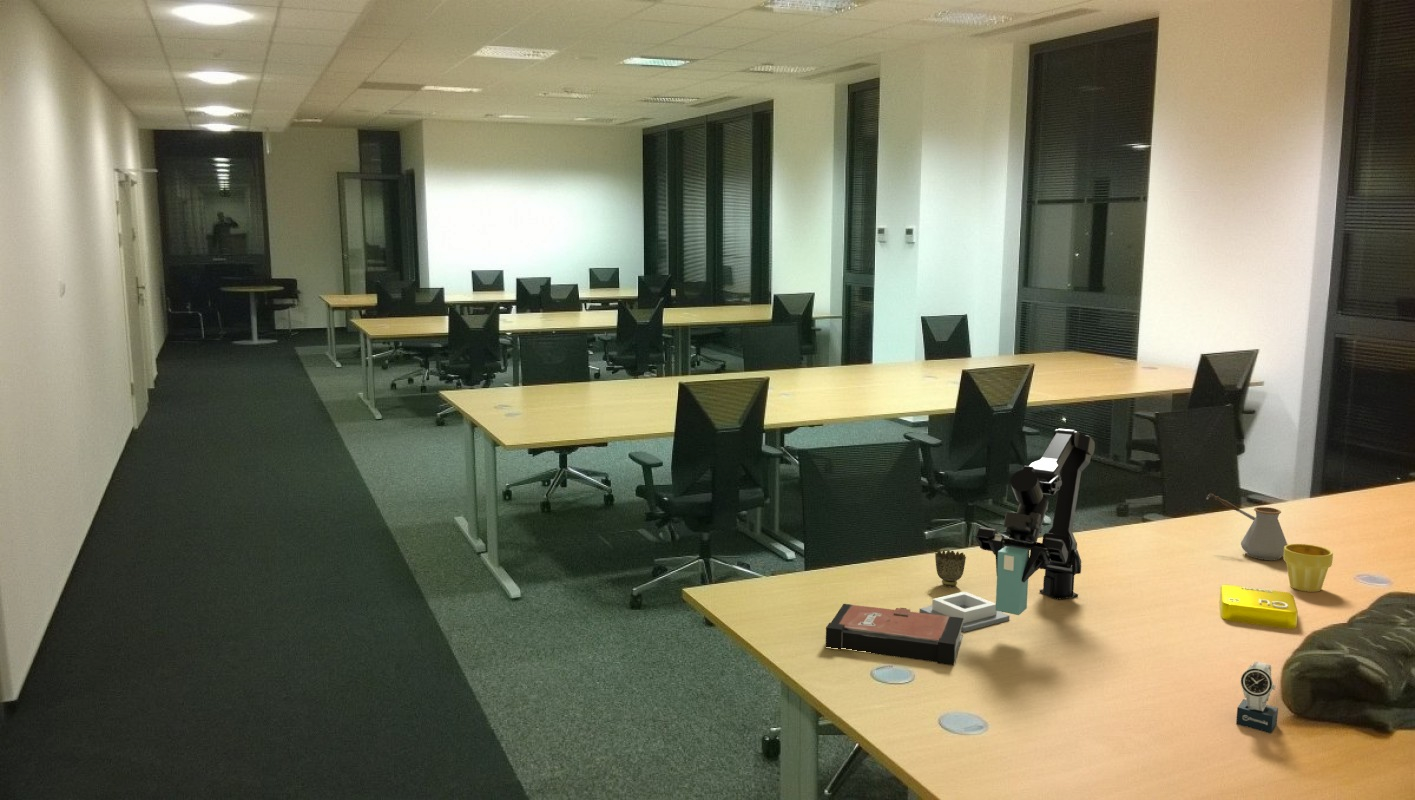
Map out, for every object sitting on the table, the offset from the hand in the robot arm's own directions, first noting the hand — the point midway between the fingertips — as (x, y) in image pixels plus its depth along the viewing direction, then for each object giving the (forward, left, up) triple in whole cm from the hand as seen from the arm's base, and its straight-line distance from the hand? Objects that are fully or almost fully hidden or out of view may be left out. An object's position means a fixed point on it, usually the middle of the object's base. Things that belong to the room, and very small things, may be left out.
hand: (1010, 579), depth 216 cm
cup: (-10, -34, -14) cm, 38 cm away
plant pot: (-89, +2, -14) cm, 90 cm away
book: (+22, -9, -14) cm, 28 cm away
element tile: (-63, +10, -14) cm, 65 cm away
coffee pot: (-101, -25, -14) cm, 105 cm away
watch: (-14, +49, -14) cm, 53 cm away
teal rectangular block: (-1, -1, -7) cm, 7 cm away
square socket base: (0, -15, -13) cm, 20 cm away
